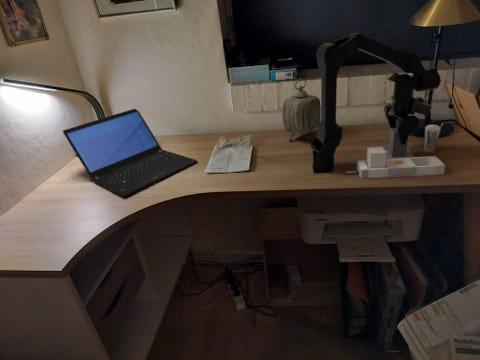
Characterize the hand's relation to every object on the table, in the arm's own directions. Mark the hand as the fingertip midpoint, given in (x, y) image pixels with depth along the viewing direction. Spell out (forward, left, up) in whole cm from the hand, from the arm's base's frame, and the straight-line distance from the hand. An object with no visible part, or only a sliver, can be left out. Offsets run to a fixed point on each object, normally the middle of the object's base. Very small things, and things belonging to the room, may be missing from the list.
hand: (398, 139), depth 113 cm
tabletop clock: (-31, +23, -6) cm, 39 cm away
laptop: (-98, +2, -7) cm, 98 cm away
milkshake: (+12, +3, -6) cm, 14 cm away
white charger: (-10, -12, -6) cm, 17 cm away
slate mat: (0, 0, -6) cm, 6 cm away
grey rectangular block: (0, 0, -6) cm, 6 cm away
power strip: (-5, -12, -6) cm, 14 cm away
